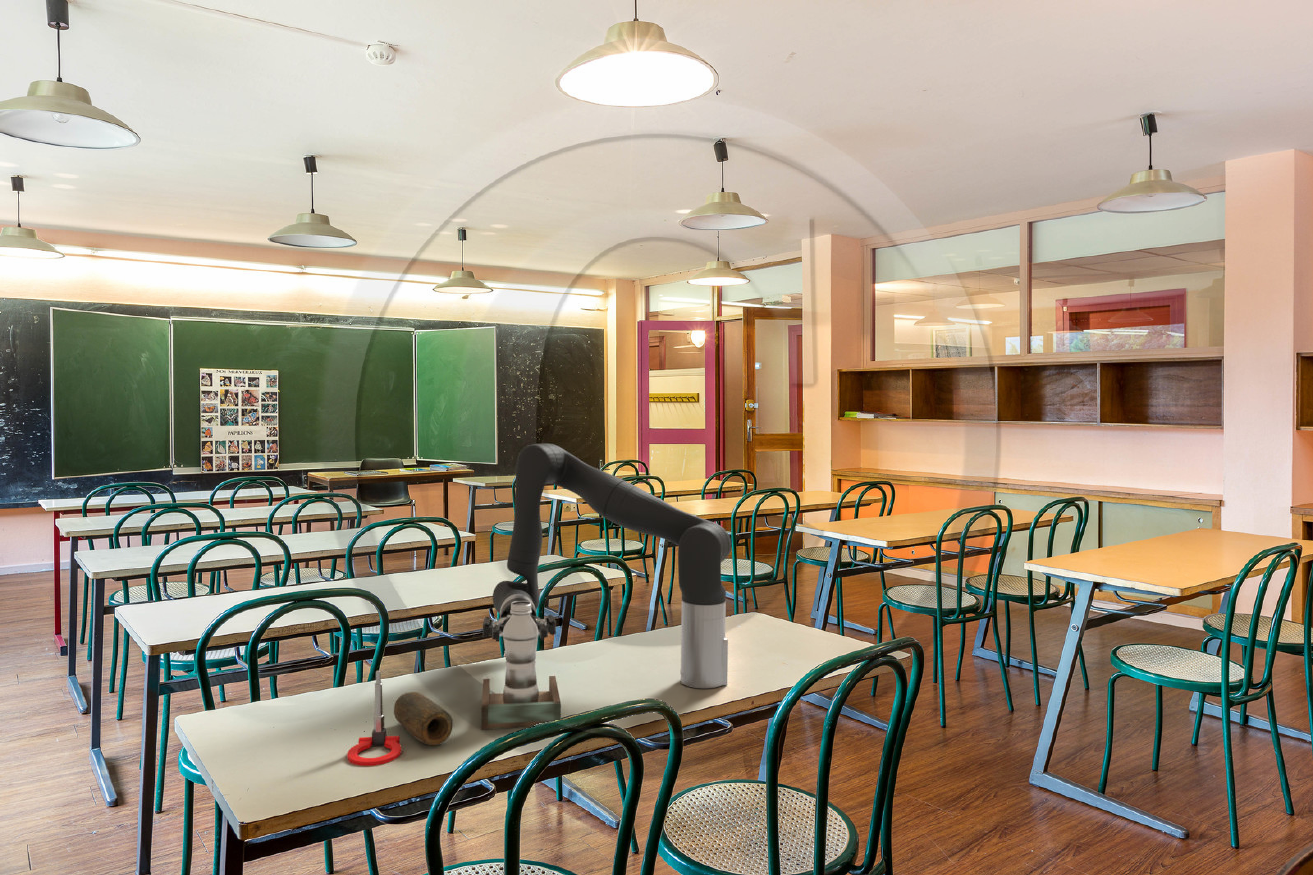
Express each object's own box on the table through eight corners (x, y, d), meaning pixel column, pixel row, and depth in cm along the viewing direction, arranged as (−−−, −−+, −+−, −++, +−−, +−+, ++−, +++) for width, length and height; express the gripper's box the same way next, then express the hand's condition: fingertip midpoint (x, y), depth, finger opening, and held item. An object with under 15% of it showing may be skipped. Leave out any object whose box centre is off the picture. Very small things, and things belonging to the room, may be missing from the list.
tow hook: (396, 767, 137) (405, 742, 146) (395, 689, 136) (404, 668, 145) (342, 770, 136) (354, 744, 145) (340, 691, 135) (353, 670, 144)
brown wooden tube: (460, 743, 146) (461, 705, 146) (422, 754, 142) (422, 714, 141) (423, 718, 158) (423, 682, 157) (386, 727, 153) (386, 690, 153)
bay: (555, 695, 170) (555, 675, 170) (560, 725, 154) (560, 703, 154) (483, 699, 168) (483, 679, 168) (481, 729, 152) (481, 707, 152)
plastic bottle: (532, 717, 155) (532, 608, 154) (496, 714, 157) (497, 606, 156) (543, 705, 162) (544, 600, 161) (509, 702, 163) (510, 598, 162)
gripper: (483, 598, 179) (482, 617, 163) (552, 596, 181) (557, 615, 165) (483, 634, 179) (482, 656, 163) (552, 631, 181) (557, 653, 166)
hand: (520, 635), depth 164 cm, fingers open, 8 cm apart
